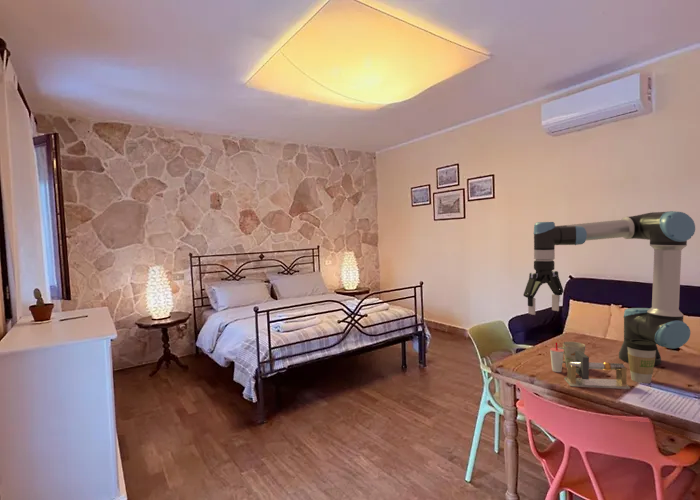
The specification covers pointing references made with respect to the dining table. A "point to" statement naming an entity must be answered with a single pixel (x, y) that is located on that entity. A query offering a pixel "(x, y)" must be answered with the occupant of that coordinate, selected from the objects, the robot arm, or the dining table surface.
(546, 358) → the dining table surface
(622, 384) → the metal rod stand
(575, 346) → the mug
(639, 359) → the coffee cup
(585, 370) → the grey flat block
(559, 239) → the robot arm
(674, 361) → the dining table surface
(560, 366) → the cup
